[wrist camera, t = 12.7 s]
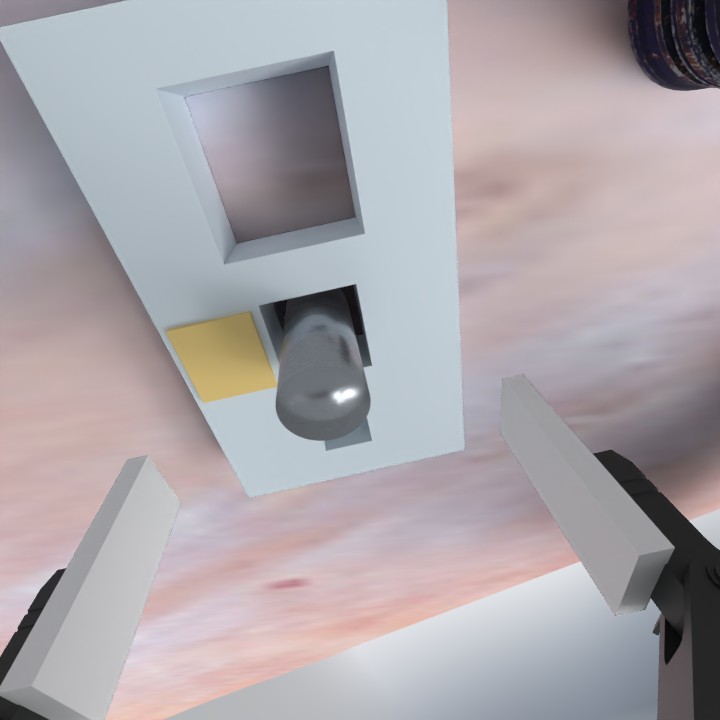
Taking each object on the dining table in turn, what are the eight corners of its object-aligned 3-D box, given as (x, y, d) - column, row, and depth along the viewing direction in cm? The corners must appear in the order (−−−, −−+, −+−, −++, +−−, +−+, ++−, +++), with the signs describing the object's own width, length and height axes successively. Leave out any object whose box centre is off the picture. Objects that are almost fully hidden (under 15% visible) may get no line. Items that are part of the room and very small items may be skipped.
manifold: (415, -27, 16) (446, -72, 13) (447, 413, 30) (466, 452, 27) (58, 49, 16) (-13, 26, 13) (255, 456, 30) (248, 501, 27)
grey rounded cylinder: (341, 273, 23) (361, 356, 15) (353, 329, 25) (377, 429, 17) (278, 287, 23) (262, 378, 15) (295, 342, 25) (290, 448, 17)
